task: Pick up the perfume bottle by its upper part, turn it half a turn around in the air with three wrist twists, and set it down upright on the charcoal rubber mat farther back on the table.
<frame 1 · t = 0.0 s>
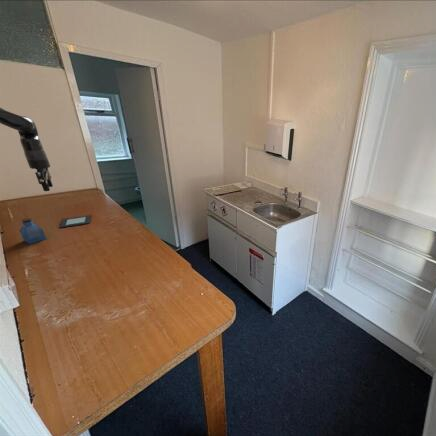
hand: (48, 188, 125), 22 cm above the table, tool pointing down, fingers open, 8 cm apart
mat: (76, 221, 139), on the table
perfume bottle: (36, 241, 118), on the table
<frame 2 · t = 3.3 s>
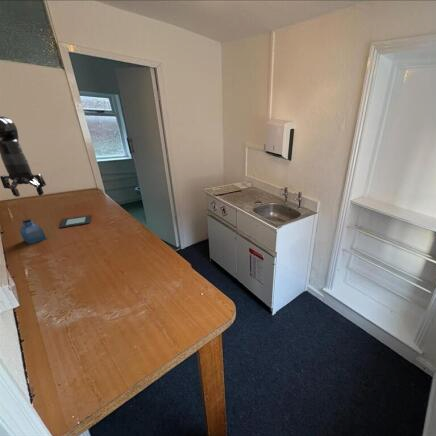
hand: (29, 195, 115), 22 cm above the table, tool pointing down, fingers open, 8 cm apart
nothing on the table moved.
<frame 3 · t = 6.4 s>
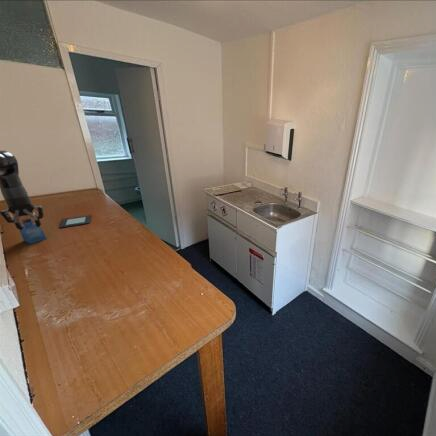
hand: (30, 227, 115), 7 cm above the table, tool pointing down, fingers closed on perfume bottle, 5 cm apart
perfume bottle: (36, 241, 118), on the table, touching gripper
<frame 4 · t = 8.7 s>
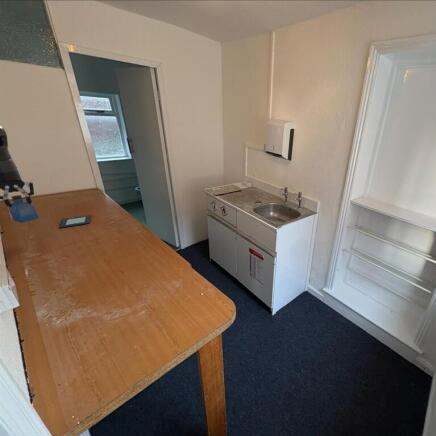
hand: (20, 205, 110), 19 cm above the table, tool pointing down, fingers closed on perfume bottle, 5 cm apart
perfume bottle: (26, 219, 113), point 12 cm above the table, touching gripper
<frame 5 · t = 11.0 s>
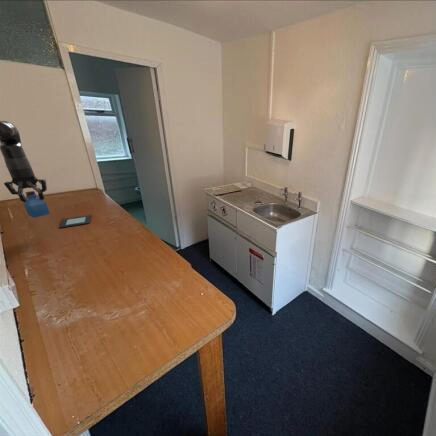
hand: (33, 200, 115), 20 cm above the table, tool pointing down, fingers closed on perfume bottle, 5 cm apart
perfume bottle: (39, 214, 118), point 12 cm above the table, touching gripper
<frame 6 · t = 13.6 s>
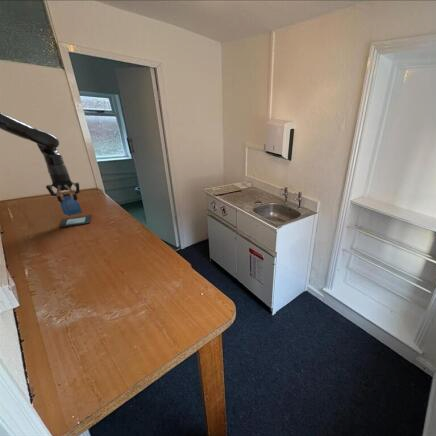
hand: (68, 201, 134), 13 cm above the table, tool pointing down, fingers closed on perfume bottle, 5 cm apart
perfume bottle: (73, 213, 137), point 6 cm above the table, touching gripper
when the fingers open (8 cm above the table, at t = 15.4 s): perfume bottle stays where it is, resting on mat.
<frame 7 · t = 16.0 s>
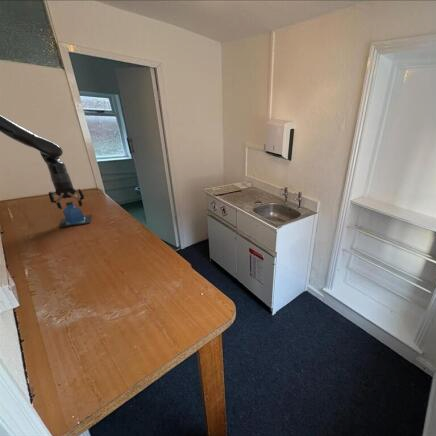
hand: (71, 207, 136), 9 cm above the table, tool pointing down, fingers open, 8 cm apart
perfume bottle: (75, 221, 139), point 1 cm above the table, touching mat
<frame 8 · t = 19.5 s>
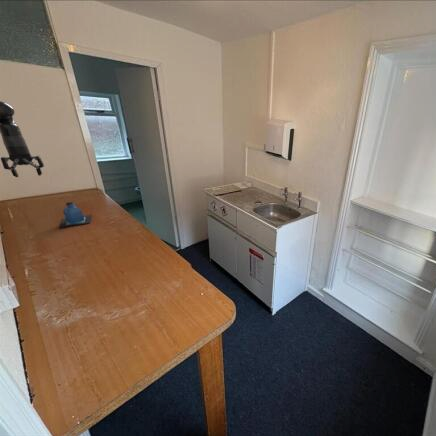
hand: (28, 176, 125), 28 cm above the table, tool pointing down, fingers open, 8 cm apart
nothing on the table moved.
at the end: perfume bottle inside the target area on the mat (0.2 cm from its centre), point 0.5 cm above the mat's base; perfume bottle tilted 0°; the gripper is holding nothing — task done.
